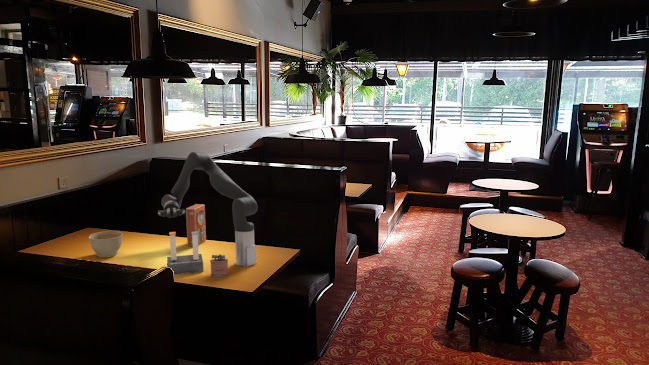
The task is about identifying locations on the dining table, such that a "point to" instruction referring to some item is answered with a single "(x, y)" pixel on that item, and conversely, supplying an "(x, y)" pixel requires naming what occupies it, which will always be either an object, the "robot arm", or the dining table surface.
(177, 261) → the grey rectangular base
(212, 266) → the lighter
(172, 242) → the handle
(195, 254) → the handle
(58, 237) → the dining table surface
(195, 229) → the control panel
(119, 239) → the planter bowl
